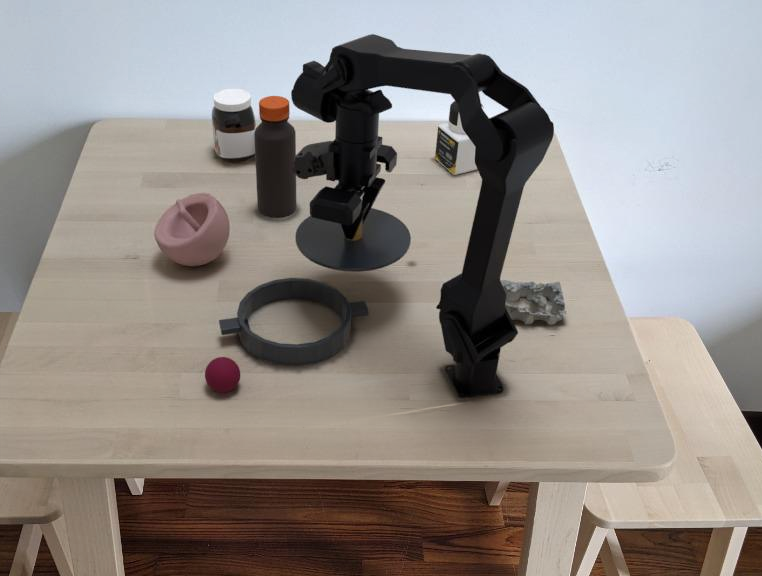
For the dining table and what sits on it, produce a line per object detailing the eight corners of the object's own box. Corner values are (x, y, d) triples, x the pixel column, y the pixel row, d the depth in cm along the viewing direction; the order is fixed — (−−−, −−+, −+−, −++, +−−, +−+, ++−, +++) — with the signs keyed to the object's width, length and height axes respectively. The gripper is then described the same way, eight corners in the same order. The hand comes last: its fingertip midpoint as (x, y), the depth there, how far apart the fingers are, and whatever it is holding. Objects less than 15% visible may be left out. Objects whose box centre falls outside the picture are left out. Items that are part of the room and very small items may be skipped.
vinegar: (302, 216, 158) (301, 107, 145) (265, 223, 156) (261, 114, 143) (288, 197, 163) (286, 90, 150) (252, 204, 161) (247, 96, 148)
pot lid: (424, 267, 128) (428, 233, 125) (308, 281, 126) (308, 247, 122) (392, 206, 141) (394, 174, 137) (285, 218, 138) (285, 185, 135)
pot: (381, 356, 130) (382, 335, 128) (230, 378, 127) (228, 357, 124) (352, 290, 142) (353, 269, 139) (213, 308, 139) (211, 287, 136)
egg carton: (490, 326, 135) (494, 304, 133) (488, 296, 141) (491, 274, 138) (563, 330, 134) (568, 308, 132) (558, 300, 140) (563, 278, 137)
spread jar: (210, 145, 178) (205, 88, 170) (266, 137, 180) (264, 80, 172) (224, 174, 169) (220, 115, 161) (283, 165, 172) (281, 107, 164)
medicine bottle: (434, 159, 173) (440, 99, 165) (465, 151, 176) (473, 92, 168) (453, 176, 169) (461, 115, 161) (486, 168, 171) (495, 107, 163)
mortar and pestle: (150, 247, 151) (142, 186, 143) (219, 233, 154) (215, 173, 147) (168, 287, 143) (160, 224, 135) (241, 271, 146) (237, 209, 138)
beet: (248, 389, 123) (232, 365, 120) (218, 404, 124) (200, 382, 121) (243, 367, 127) (227, 344, 124) (213, 382, 127) (196, 360, 124)
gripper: (327, 96, 131) (326, 192, 141) (272, 153, 118) (275, 254, 128) (401, 109, 127) (394, 207, 138) (352, 169, 115) (349, 272, 125)
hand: (353, 233), depth 132 cm, fingers closed on pot lid, 3 cm apart
